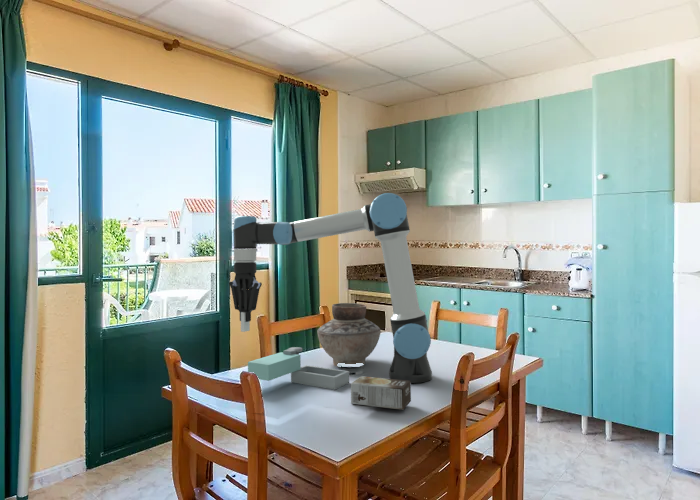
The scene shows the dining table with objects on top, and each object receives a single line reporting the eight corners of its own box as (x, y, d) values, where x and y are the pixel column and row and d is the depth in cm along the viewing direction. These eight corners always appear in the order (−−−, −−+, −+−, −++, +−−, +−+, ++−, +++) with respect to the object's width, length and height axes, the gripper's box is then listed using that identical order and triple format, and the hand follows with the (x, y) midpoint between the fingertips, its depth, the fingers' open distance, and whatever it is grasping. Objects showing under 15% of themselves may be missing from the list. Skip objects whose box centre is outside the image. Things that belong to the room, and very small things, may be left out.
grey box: (349, 383, 163) (349, 355, 163) (335, 389, 155) (335, 360, 155) (300, 375, 174) (300, 349, 174) (284, 381, 166) (284, 353, 166)
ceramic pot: (390, 361, 194) (390, 303, 194) (363, 376, 172) (363, 310, 172) (336, 355, 205) (336, 300, 205) (305, 368, 183) (305, 306, 183)
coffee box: (360, 375, 149) (411, 379, 143) (360, 395, 149) (411, 401, 143) (350, 383, 140) (403, 388, 135) (350, 404, 140) (404, 410, 135)
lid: (268, 380, 150) (268, 361, 150) (248, 377, 155) (247, 358, 155) (309, 366, 169) (309, 348, 169) (290, 363, 174) (290, 346, 174)
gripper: (267, 261, 162) (267, 331, 162) (238, 261, 169) (238, 327, 169) (252, 262, 156) (252, 334, 156) (223, 261, 163) (223, 330, 163)
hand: (245, 330), depth 163 cm, fingers closed
